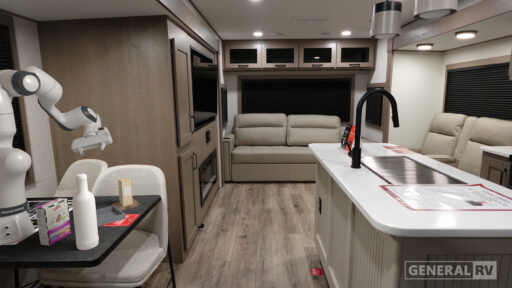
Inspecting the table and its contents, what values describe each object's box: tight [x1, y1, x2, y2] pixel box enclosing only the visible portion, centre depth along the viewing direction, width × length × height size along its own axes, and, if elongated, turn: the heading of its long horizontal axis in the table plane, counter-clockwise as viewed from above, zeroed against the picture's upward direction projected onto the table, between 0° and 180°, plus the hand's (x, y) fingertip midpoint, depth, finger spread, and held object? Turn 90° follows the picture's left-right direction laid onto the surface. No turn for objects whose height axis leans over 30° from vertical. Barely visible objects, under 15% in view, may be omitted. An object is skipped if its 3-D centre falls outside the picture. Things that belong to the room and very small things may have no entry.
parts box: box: [117, 177, 133, 207], centre depth 158 cm, size 5×5×14 cm
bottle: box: [71, 173, 100, 251], centre depth 115 cm, size 8×8×30 cm
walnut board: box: [110, 198, 143, 212], centre depth 159 cm, size 12×12×1 cm
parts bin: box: [96, 205, 126, 228], centre depth 142 cm, size 15×15×3 cm
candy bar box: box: [34, 197, 73, 247], centre depth 121 cm, size 11×5×16 cm, turn 168°
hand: (92, 152), depth 153 cm, fingers open, 8 cm apart
